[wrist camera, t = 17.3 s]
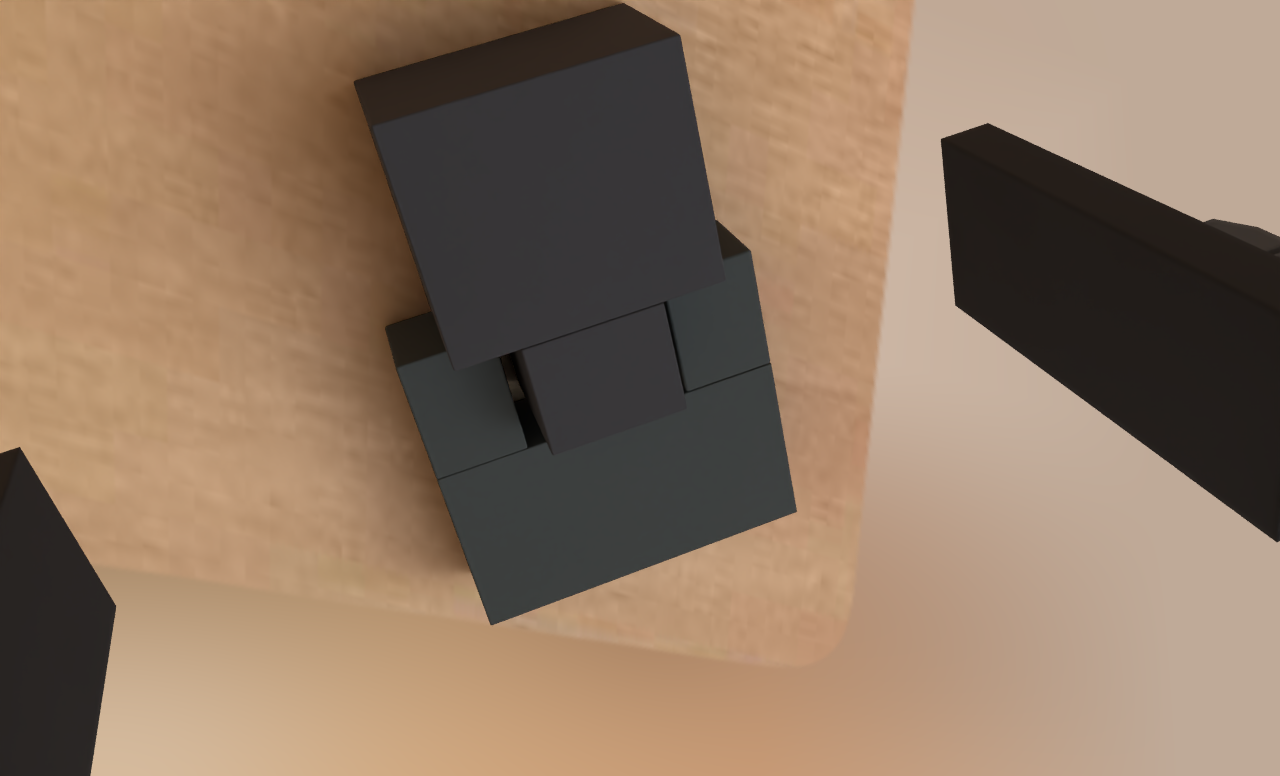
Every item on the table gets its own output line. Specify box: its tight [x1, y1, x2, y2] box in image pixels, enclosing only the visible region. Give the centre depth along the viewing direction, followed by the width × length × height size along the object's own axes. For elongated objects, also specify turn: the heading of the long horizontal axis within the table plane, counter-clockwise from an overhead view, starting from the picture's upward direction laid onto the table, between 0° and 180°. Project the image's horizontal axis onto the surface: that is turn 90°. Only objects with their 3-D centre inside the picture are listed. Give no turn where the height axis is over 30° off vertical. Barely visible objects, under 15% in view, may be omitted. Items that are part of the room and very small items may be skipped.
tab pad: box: [354, 3, 726, 455], centre depth 33 cm, size 8×11×5 cm
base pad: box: [385, 220, 797, 625], centre depth 38 cm, size 11×10×3 cm
